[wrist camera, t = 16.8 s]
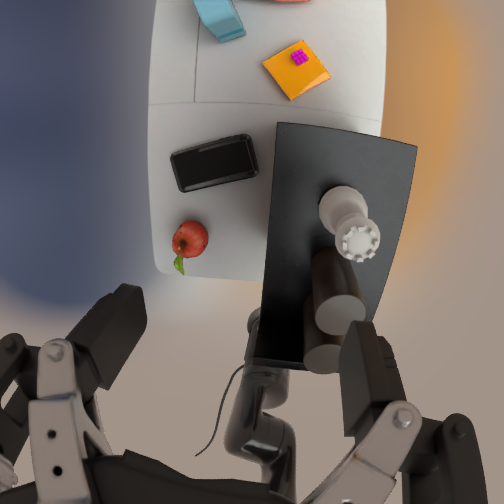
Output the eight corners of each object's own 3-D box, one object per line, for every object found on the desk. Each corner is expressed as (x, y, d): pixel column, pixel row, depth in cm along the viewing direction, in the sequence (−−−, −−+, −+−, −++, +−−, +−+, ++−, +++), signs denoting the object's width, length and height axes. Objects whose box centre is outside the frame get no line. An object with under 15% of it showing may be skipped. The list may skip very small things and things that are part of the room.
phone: (258, 176, 47) (180, 194, 50) (259, 175, 48) (182, 192, 51) (248, 132, 44) (168, 153, 47) (249, 131, 45) (171, 153, 48)
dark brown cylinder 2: (319, 325, 30) (323, 380, 23) (295, 306, 30) (293, 360, 23) (346, 305, 29) (358, 359, 22) (322, 283, 28) (329, 337, 21)
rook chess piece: (314, 227, 26) (321, 270, 18) (321, 181, 24) (334, 207, 16) (359, 234, 25) (382, 278, 18) (369, 189, 23) (399, 218, 16)
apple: (175, 220, 54) (153, 241, 45) (205, 209, 52) (187, 229, 43) (191, 254, 57) (173, 279, 48) (220, 245, 55) (206, 270, 46)
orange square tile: (329, 78, 39) (333, 74, 35) (290, 101, 42) (290, 99, 38) (302, 43, 36) (303, 35, 33) (263, 65, 39) (260, 60, 35)
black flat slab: (364, 330, 32) (375, 374, 25) (260, 320, 33) (251, 365, 26) (413, 145, 22) (450, 155, 15) (277, 121, 23) (272, 120, 17)
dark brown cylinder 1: (329, 289, 28) (336, 343, 21) (302, 265, 27) (303, 317, 20) (358, 265, 27) (376, 315, 19) (331, 239, 26) (344, 284, 19)
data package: (247, 36, 37) (233, 12, 26) (223, 45, 38) (202, 24, 27) (226, -11, 32) (208, -40, 22) (203, -2, 34) (180, -28, 23)
